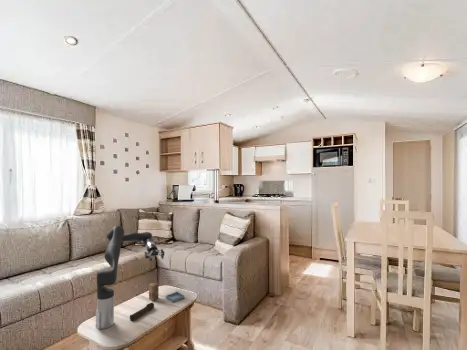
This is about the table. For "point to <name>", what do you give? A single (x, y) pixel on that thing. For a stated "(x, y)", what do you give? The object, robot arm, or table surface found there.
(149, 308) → the brown rough rod
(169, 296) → the tray
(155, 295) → the walnut block
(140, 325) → the table surface
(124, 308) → the table surface
